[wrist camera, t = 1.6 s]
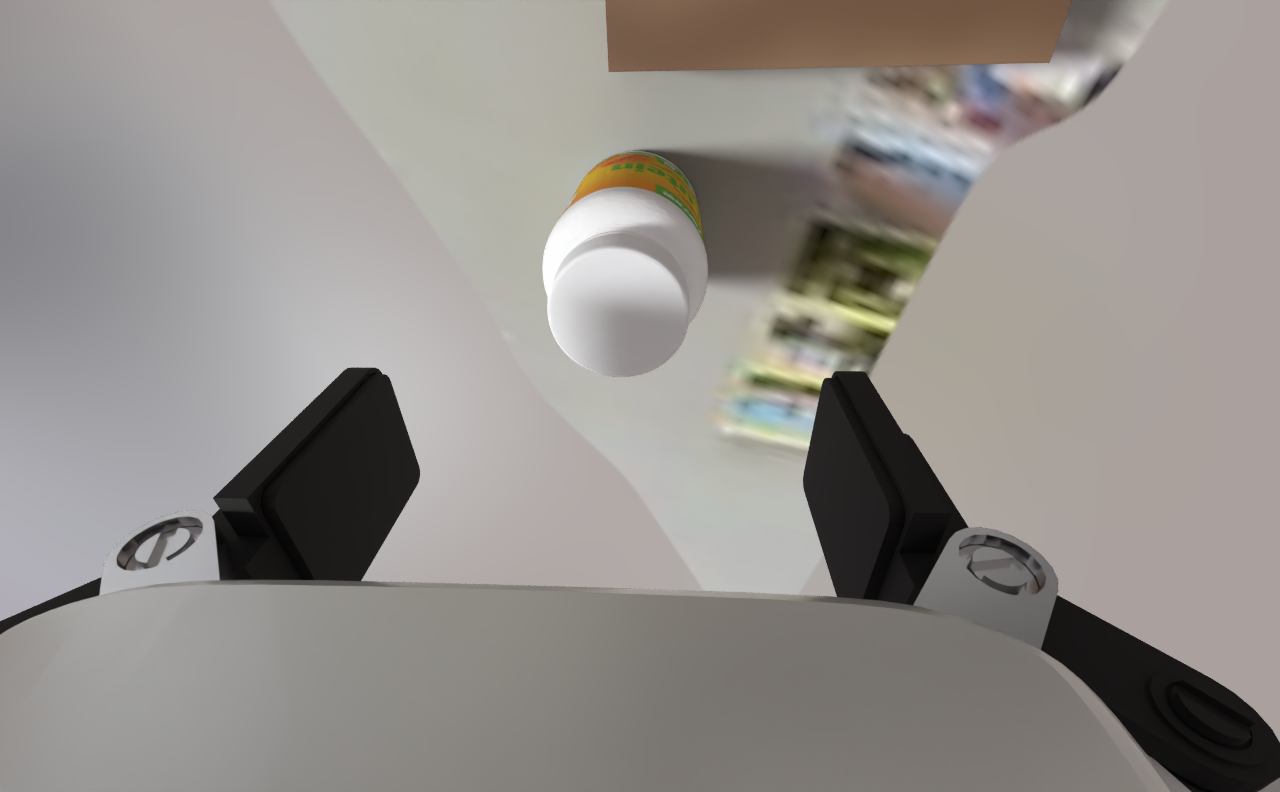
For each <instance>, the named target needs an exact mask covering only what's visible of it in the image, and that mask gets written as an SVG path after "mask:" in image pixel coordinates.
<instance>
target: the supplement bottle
mask: <svg viewBox="0 0 1280 792" xmlns="http://www.w3.org/2000/svg"><path fill="white" fill-rule="evenodd" d="M543 280H544V286H545V290H546V294H547V297H548V305H547V312H548V320H549V324H550V328H551V331H552V333H553V336H554V337H555V339H556V341H557V343H558V344H559V346H560V347H561V348H562V350H563V351H564V352H565V353H566V354H567V355H568V356H569V357H570V358H571V359H572V360H574V361H575V362H576V363H578V364H579V365H581V366H582V367H584V368H586V369H588V370H590V371H593V372H595V373H598V374H602V375H606V376H612V377H630V376H636V375H641V374H644V373H647V372H650V371H652V370H654V369H656V368H658V367H659V366H661V365H662V364H664V363H665V362H666V361H668V360H669V359H670V358H671V357H672V356H673V355H674V354H675V352H676V351H677V350H678V348H679V347H680V345H681V344H682V342H683V340H684V338H685V335H686V332H687V329H688V325H689V324H690V323H691V321H692V320H693V319H694V317H695V316H696V314H697V312H698V311H699V309H700V306H701V304H702V302H703V299H704V296H705V293H706V288H707V281H708V260H707V253H706V248H705V243H704V238H703V231H702V224H701V218H700V211H699V206H698V202H697V198H696V195H695V192H694V190H693V188H692V186H691V184H690V182H689V181H688V179H687V178H686V176H685V175H684V174H683V173H682V172H681V171H680V170H679V169H678V168H677V167H676V166H675V165H674V164H673V163H671V162H670V161H668V160H666V159H665V158H663V157H661V156H658V155H656V154H653V153H649V152H644V151H626V152H621V153H617V154H614V155H612V156H609V157H607V158H606V159H604V160H602V161H601V162H599V163H598V164H597V165H596V166H594V167H593V168H592V169H591V170H590V171H589V173H588V174H587V175H586V176H585V178H584V179H583V181H582V182H581V184H580V185H579V187H578V189H577V190H576V192H575V194H574V195H573V197H572V199H571V200H570V202H569V204H568V205H567V207H566V208H565V210H564V212H563V213H562V215H561V216H560V218H559V219H558V221H557V222H556V224H555V226H554V228H553V230H552V231H551V233H550V236H549V239H548V241H547V244H546V247H545V251H544V257H543Z"/></svg>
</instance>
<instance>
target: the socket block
mask: <svg viewBox="0 0 1280 792" xmlns="http://www.w3.org/2000/svg"><path fill="white" fill-rule="evenodd" d="M1071 2H1072V0H606V22H607V43H608V65H609V72H628V71H675V70H723V69H770V68H818V67H865V66H913V65H960V64H1008V63H1049V62H1050V60H1051V57H1052V54H1053V51H1054V49H1055V46H1056V43H1057V40H1058V38H1059V35H1060V32H1061V29H1062V27H1063V24H1064V21H1065V18H1066V16H1067V13H1068V10H1069V7H1070V5H1071Z"/></svg>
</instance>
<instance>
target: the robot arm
mask: <svg viewBox="0 0 1280 792" xmlns="http://www.w3.org/2000/svg"><path fill="white" fill-rule="evenodd" d="M419 478H420V469H419V465H418V462H417V459H416V456H415V453H414V450H413V447H412V444H411V441H410V438H409V435H408V432H407V429H406V426H405V423H404V420H403V417H402V414H401V411H400V408H399V405H398V402H397V399H396V396H395V393H394V390H393V387H392V384H391V381H390V379H389V377H388V376H387V375H384V374H382V373H381V371H380V370H379V369H377V368H347V369H346V370H344V371H343V372H342V373H341V374H340V375H339V376H338V377H337V378H336V379H335V380H334V381H333V382H332V383H331V384H330V385H329V386H328V387H327V388H326V389H325V390H324V391H323V392H322V393H321V394H320V395H319V396H318V397H317V398H315V399H314V400H313V402H311V404H309V405H308V406H307V407H306V408H305V409H304V410H303V411H302V412H301V413H300V414H299V415H298V416H297V417H296V418H295V419H294V420H293V421H292V422H291V423H290V424H289V425H288V426H287V427H286V428H285V429H284V430H282V432H281V433H279V435H277V436H276V437H275V438H274V439H273V440H272V441H271V442H270V443H269V444H268V445H267V446H266V447H265V448H264V449H263V450H262V451H261V452H260V453H259V454H258V455H257V456H256V457H255V458H254V459H253V460H252V461H251V462H250V463H248V465H246V466H245V467H244V468H243V469H242V470H241V471H240V472H239V473H238V474H237V475H236V476H235V477H234V478H233V479H232V480H231V481H230V482H229V483H228V484H227V485H226V486H225V487H224V488H223V489H222V490H221V491H220V492H219V493H218V494H217V495H216V496H214V497H213V499H214V500H215V502H216V503H217V505H218V507H219V508H220V509H219V510H218V511H217V512H216V513H215V514H214V515H213V516H211V515H210V514H208V513H206V512H204V511H198V510H188V511H181V512H175V513H172V514H169V515H165V516H162V517H160V518H157V519H155V520H153V521H150V522H148V523H146V524H144V525H142V526H141V527H139V528H137V529H136V530H134V531H133V532H131V533H129V534H128V535H127V536H126V537H124V538H123V539H122V540H121V541H119V542H118V543H117V544H116V545H115V546H114V547H113V549H112V550H111V551H110V552H109V553H108V555H107V557H106V559H105V562H104V564H103V571H102V577H101V578H98V579H96V580H94V581H91V582H89V583H87V584H85V585H83V586H81V587H78V588H75V589H73V590H71V591H69V592H66V593H64V594H62V595H60V596H57V597H55V598H53V599H50V600H48V601H46V602H44V603H41V604H39V605H37V606H34V607H32V608H30V609H27V610H25V611H23V612H21V613H18V614H16V615H14V616H12V617H9V618H7V619H5V620H2V621H0V792H1280V742H1279V741H1278V739H1277V737H1276V736H1275V734H1274V732H1273V730H1272V729H1271V728H1270V727H1269V726H1268V724H1267V723H1266V722H1265V721H1264V720H1263V719H1262V718H1261V717H1260V715H1259V714H1258V713H1257V712H1256V711H1255V710H1254V709H1253V708H1252V707H1250V706H1249V705H1248V704H1247V703H1246V702H1244V701H1243V700H1242V699H1241V698H1240V697H1238V696H1237V695H1236V694H1235V693H1233V692H1232V691H1230V690H1229V689H1227V688H1226V687H1224V686H1222V685H1221V684H1219V683H1218V682H1216V681H1215V680H1213V679H1211V678H1209V677H1208V676H1206V675H1204V674H1202V673H1200V672H1198V671H1197V670H1195V669H1193V668H1191V667H1189V666H1187V665H1185V664H1184V663H1182V662H1180V661H1178V660H1176V659H1174V658H1173V657H1170V656H1169V655H1167V654H1165V653H1163V652H1161V651H1160V650H1158V649H1156V648H1154V647H1152V646H1150V645H1148V644H1147V643H1145V642H1143V641H1141V640H1139V639H1137V638H1136V637H1134V636H1131V635H1130V634H1128V633H1126V632H1124V631H1123V630H1121V629H1119V628H1117V627H1115V626H1113V625H1111V624H1110V623H1108V622H1106V621H1104V620H1102V619H1100V618H1098V617H1097V616H1095V615H1093V614H1091V613H1089V612H1087V611H1086V610H1084V609H1082V608H1080V607H1078V606H1076V605H1074V604H1073V603H1071V602H1069V601H1067V600H1065V599H1063V598H1062V597H1060V596H1058V595H1057V593H1058V578H1057V576H1056V574H1055V572H1054V570H1053V568H1052V566H1051V565H1050V564H1049V563H1048V562H1047V561H1046V559H1045V558H1044V557H1043V556H1042V555H1041V554H1040V553H1039V552H1037V551H1036V550H1035V549H1033V548H1032V547H1031V546H1030V545H1028V544H1027V543H1025V542H1023V541H1021V540H1019V539H1017V538H1016V537H1014V536H1012V535H1009V534H1006V533H1003V532H1001V531H998V530H993V529H988V528H982V527H975V528H969V527H968V526H967V524H966V523H965V521H964V519H963V518H962V516H961V515H960V513H959V511H958V510H957V509H956V507H955V505H954V504H953V502H952V500H951V499H950V497H949V496H948V494H947V493H946V491H945V489H944V488H943V486H942V485H941V483H940V482H939V480H938V478H937V477H936V475H935V474H934V472H933V471H932V469H931V467H930V466H929V464H928V463H927V461H926V460H925V458H924V456H923V455H922V453H921V452H920V450H919V448H918V447H917V445H916V444H915V442H914V441H913V439H912V438H911V437H910V436H909V435H907V434H904V433H903V432H902V431H901V429H900V427H899V426H898V424H897V423H896V421H895V419H894V418H893V416H892V415H891V413H890V411H889V410H888V408H887V406H886V405H885V403H884V402H883V400H882V399H881V397H880V395H879V394H878V392H877V390H876V389H875V387H874V385H873V384H872V382H871V381H870V379H869V377H868V376H867V374H866V373H865V372H862V371H836V372H834V374H833V375H832V378H825V379H824V381H823V383H822V388H821V392H820V397H819V402H818V407H817V412H816V417H815V421H814V426H813V431H812V436H811V441H810V446H809V451H808V455H807V460H806V465H805V470H804V476H803V486H804V492H805V495H806V498H807V501H808V505H809V508H810V511H811V514H812V518H813V521H814V524H815V527H816V530H817V534H818V537H819V540H820V543H821V547H822V550H823V553H824V556H825V559H826V563H827V566H828V569H829V572H830V576H831V579H832V582H833V585H834V588H835V592H836V594H837V597H828V596H810V595H789V594H767V593H747V592H718V591H688V590H660V589H630V588H628V589H627V588H599V587H597V588H596V587H565V586H564V587H563V586H562V587H561V586H530V585H527V586H526V585H495V584H494V585H493V584H492V585H491V584H459V583H417V582H415V583H413V582H373V581H370V582H369V581H361V580H362V578H363V576H364V575H365V573H366V571H367V570H368V568H369V566H370V565H371V563H372V561H373V559H374V558H375V556H376V554H377V553H378V551H379V549H380V547H381V546H382V544H383V542H384V541H385V539H386V537H387V535H388V534H389V532H390V530H391V528H392V527H393V525H394V524H395V522H396V520H397V518H398V517H399V515H400V513H401V512H402V510H403V508H404V507H405V505H406V503H407V501H408V500H409V498H410V496H411V495H412V493H413V491H414V489H415V488H416V486H417V484H418V482H419Z"/></svg>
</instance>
